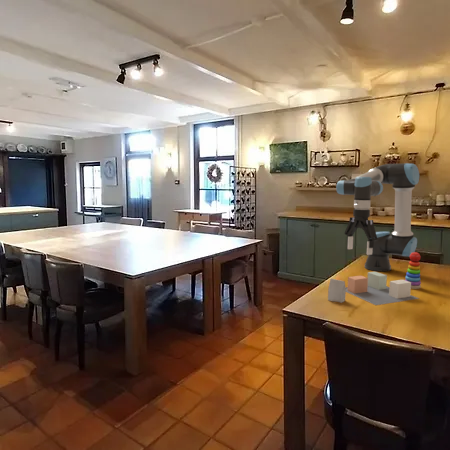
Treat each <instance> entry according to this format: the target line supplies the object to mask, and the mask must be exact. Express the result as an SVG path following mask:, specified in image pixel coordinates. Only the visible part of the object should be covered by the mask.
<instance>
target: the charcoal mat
mask: <svg viewBox="0 0 450 450" xmlns="http://www.w3.org/2000/svg"><path fill="white" fill-rule="evenodd" d="M345 288H346V293H348V294H350V295H352V296H354V297H357V298H358V299H361V300H363V301H365V302H368V303H370V304H371V305H375V306H380V305H386V304H394V303H400V302H406V301H412V300H419V299H420V298H419V297H417V296H414V295H411V294H410V297H404V298H398V299H397V298H395V297H392V296H390V295H389V289H390V286H387V285H386V289H381V290H378V289H375V288H372V287H370V286H368V288H367V292H362V293H355V294H354V293H352V292H350V291H347V290H348V286H347V287H346V286H345Z"/></svg>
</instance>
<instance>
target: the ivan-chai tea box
mask: <svg viewBox="0 0 450 450" xmlns="http://www.w3.org/2000/svg"><path fill="white" fill-rule="evenodd" d="M346 293H347V292H346V281H345V280H341V279H336V278H335V279H334V278H330V279H329V284H328V293H327V301H330V302H335V303H336V302H338V303H340V304H341V303H344V302H345V301H346Z"/></svg>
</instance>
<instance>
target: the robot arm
mask: <svg viewBox="0 0 450 450" xmlns="http://www.w3.org/2000/svg"><path fill="white" fill-rule="evenodd" d="M419 180H420V172H419V168H418V166H417V164H414V163H407V162H406V163H386V164H382V165H379V166H376V167H373V168H371V169H369V170H368V171H367V172H365V173H363V174H360V175H358V176H355V177H353V178H350V179H347V180H346V179H344V180H339V181H337V183H336V189H335V190H336V192H337V194H339V195H343V196H353V208H354V209H353V214H352V215H353V217H352V216H351V217H349V221H348V224H347V227H346V229H345V231H344V235H346V236H347V237H346V238H347V240H346V241H347V250H353V247H354V234H355V232H356V231H357V230H358V228H360V229H362V230H363V232H364V234H365V236H366V237H367V239H368V240H366V241H367V242H366V255H367V258H366V261H365V263H364V268H365V269H366V270H370V271H372V272H389V271H391V270H392V265H391V262H390V258H389V255H394V256H395V255H396V256H401V257H410V254H411V253H413V252H416V248H417V247H418V245H417V244H418V238H417V237H415V236H414V232H413V231H412V229H411V228H412V226H411V225H412V198H413V197H412V196H413V195H412V191H413V190H414V189H415V188H416V185H418V183H419V182H420V181H419ZM383 184H385V185H386V184H387V185H391V187H392V189H394V228H393V229H394V230H392V232H390V231H376V229H375V226H374V220H373V219H369V218H370V217H371V216H370V215H371V214H370V213H371V200H372V199H371V197H376V196H379V195H381V193H382V192H383V191H384V185H383Z"/></svg>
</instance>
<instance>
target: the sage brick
mask: <svg viewBox="0 0 450 450" xmlns="http://www.w3.org/2000/svg"><path fill="white" fill-rule="evenodd" d="M367 278H368V286H370V287H372V288H375V289H378V290H381V289H386V286H387V279H388V275H387V274H383V273H381V272H379V271H369V272H368V271H367Z"/></svg>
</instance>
